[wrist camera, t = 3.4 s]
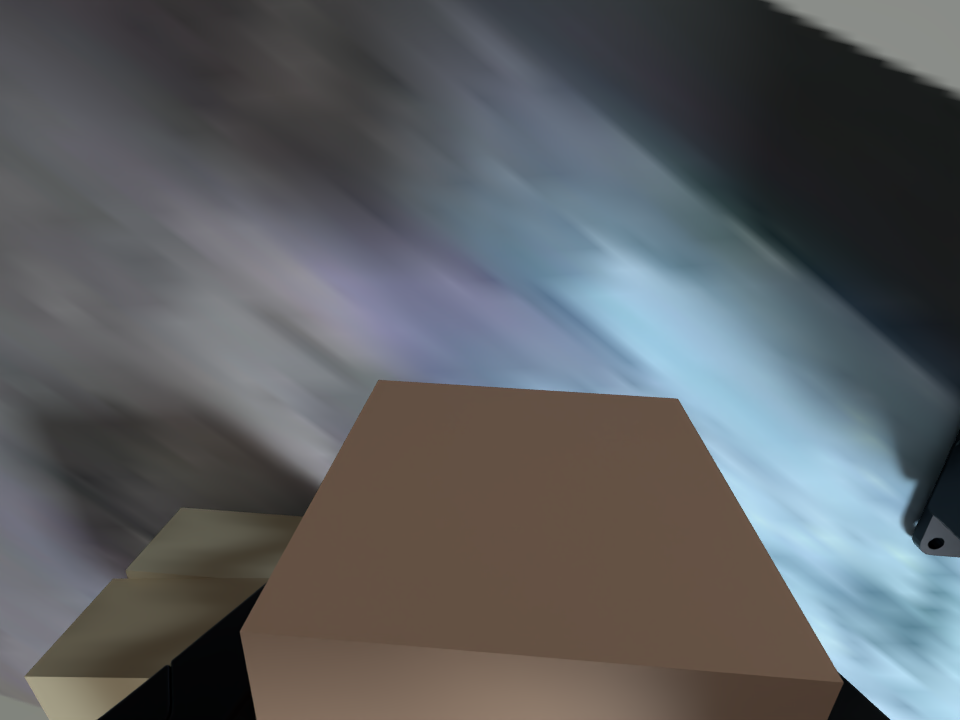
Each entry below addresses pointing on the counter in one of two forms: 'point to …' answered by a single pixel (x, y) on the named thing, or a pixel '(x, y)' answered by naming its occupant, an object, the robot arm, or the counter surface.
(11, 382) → the counter surface
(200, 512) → the olive tan squat block
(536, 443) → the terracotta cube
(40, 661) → the beige squat block
